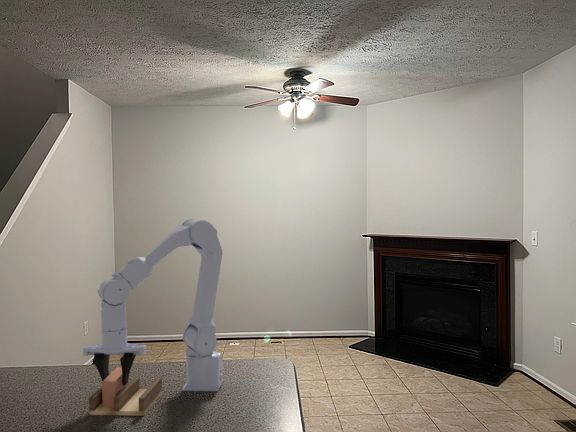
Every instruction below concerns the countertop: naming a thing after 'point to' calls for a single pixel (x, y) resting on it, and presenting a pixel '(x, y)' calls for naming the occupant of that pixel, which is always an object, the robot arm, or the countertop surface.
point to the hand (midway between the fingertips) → (115, 384)
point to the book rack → (128, 399)
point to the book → (112, 387)
